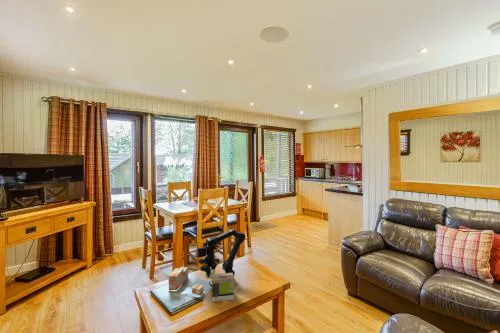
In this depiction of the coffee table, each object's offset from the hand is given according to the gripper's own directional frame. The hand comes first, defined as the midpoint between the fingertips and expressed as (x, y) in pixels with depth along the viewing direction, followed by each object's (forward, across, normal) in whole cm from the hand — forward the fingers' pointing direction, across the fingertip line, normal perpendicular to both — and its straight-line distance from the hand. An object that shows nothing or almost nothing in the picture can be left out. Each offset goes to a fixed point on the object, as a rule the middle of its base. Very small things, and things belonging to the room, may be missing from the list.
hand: (210, 275), depth 186 cm
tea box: (+8, +10, +16) cm, 21 cm away
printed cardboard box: (+8, +8, -22) cm, 25 cm away
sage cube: (+1, 0, 0) cm, 1 cm away
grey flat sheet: (+8, +7, -5) cm, 12 cm away
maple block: (+7, +14, -2) cm, 16 cm away
